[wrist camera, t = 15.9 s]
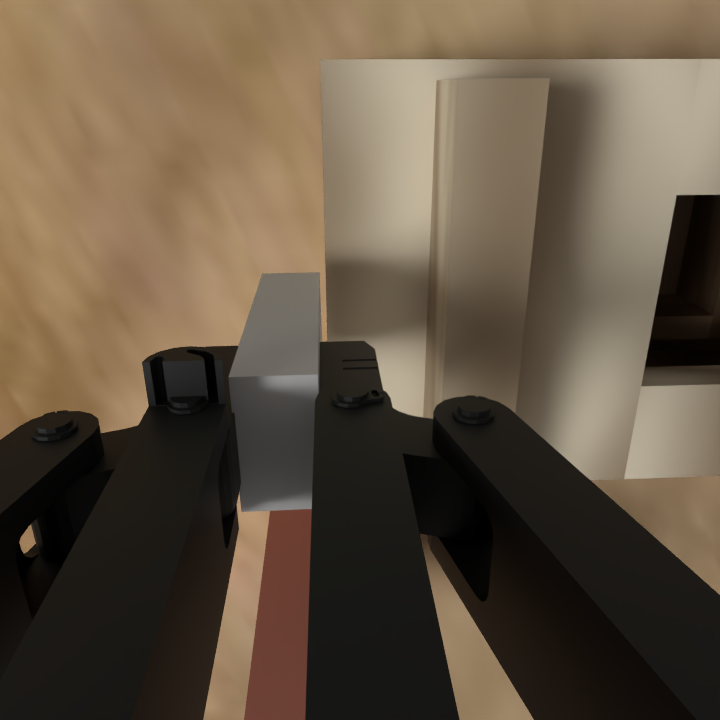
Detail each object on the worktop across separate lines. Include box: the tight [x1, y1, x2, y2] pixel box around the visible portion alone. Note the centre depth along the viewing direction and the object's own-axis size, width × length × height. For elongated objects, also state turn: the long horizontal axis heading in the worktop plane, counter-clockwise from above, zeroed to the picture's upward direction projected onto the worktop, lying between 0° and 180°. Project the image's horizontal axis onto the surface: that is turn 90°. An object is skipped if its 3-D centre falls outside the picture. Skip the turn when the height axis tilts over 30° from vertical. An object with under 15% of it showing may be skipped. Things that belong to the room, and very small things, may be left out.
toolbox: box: [645, 195, 720, 367], centre depth 25 cm, size 20×13×8 cm, turn 90°
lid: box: [321, 59, 720, 480], centre depth 19 cm, size 20×13×4 cm, turn 90°
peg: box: [244, 509, 312, 720], centre depth 25 cm, size 4×4×19 cm
